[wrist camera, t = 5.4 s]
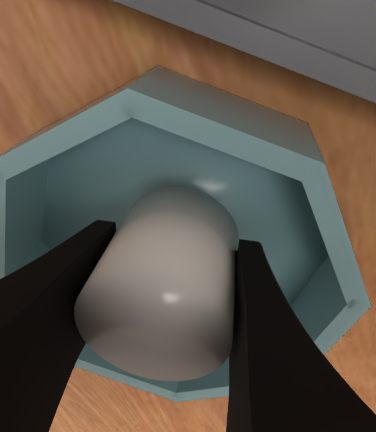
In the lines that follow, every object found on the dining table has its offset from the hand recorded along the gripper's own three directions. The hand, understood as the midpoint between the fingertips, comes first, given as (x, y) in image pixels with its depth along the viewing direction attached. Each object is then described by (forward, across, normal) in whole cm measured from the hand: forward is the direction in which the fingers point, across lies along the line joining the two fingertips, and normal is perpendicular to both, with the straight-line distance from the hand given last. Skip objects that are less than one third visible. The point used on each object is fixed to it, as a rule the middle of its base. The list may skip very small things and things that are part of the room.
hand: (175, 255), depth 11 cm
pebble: (+1, 0, 0) cm, 1 cm away
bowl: (+4, +1, +2) cm, 5 cm away
